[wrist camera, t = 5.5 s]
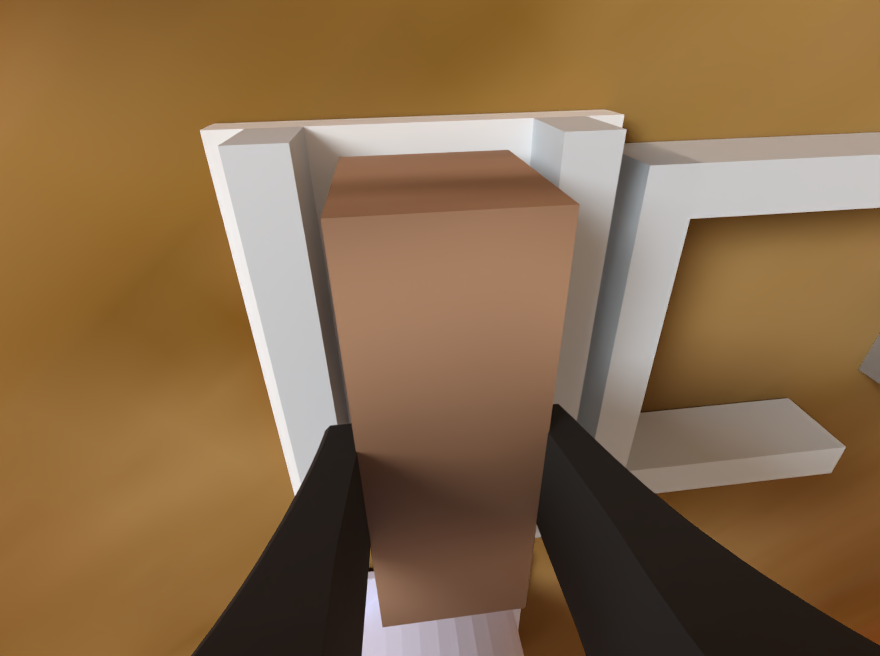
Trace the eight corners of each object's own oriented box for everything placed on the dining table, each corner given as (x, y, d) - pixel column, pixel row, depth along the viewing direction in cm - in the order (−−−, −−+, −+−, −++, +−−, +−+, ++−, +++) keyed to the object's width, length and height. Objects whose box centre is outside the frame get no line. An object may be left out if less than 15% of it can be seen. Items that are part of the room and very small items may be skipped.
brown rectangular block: (339, 157, 10) (320, 219, 6) (508, 149, 10) (579, 204, 6) (380, 492, 15) (382, 627, 11) (490, 480, 15) (525, 608, 12)
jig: (770, 438, 18) (833, 500, 16) (302, 488, 17) (290, 567, 14) (926, 97, 12) (1070, 111, 10) (213, 123, 11) (163, 148, 8)
